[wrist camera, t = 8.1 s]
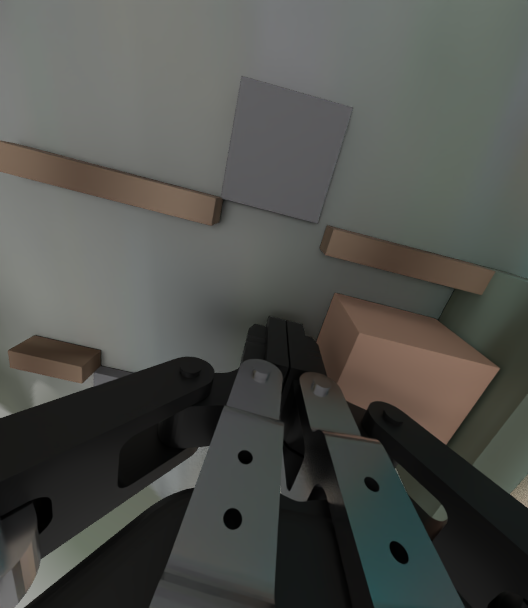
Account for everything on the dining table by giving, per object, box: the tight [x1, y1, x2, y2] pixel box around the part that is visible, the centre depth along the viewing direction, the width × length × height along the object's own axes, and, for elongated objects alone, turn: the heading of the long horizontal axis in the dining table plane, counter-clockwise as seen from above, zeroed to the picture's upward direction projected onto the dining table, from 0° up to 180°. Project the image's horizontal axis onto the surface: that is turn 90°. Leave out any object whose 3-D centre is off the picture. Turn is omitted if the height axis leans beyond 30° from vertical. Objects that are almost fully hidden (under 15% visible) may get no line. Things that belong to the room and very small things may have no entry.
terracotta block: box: [316, 293, 500, 445], centre depth 12 cm, size 5×5×4 cm
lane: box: [0, 141, 528, 521], centre depth 11 cm, size 22×10×5 cm, turn 76°
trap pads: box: [94, 76, 353, 386], centre depth 13 cm, size 5×20×1 cm, turn 147°
